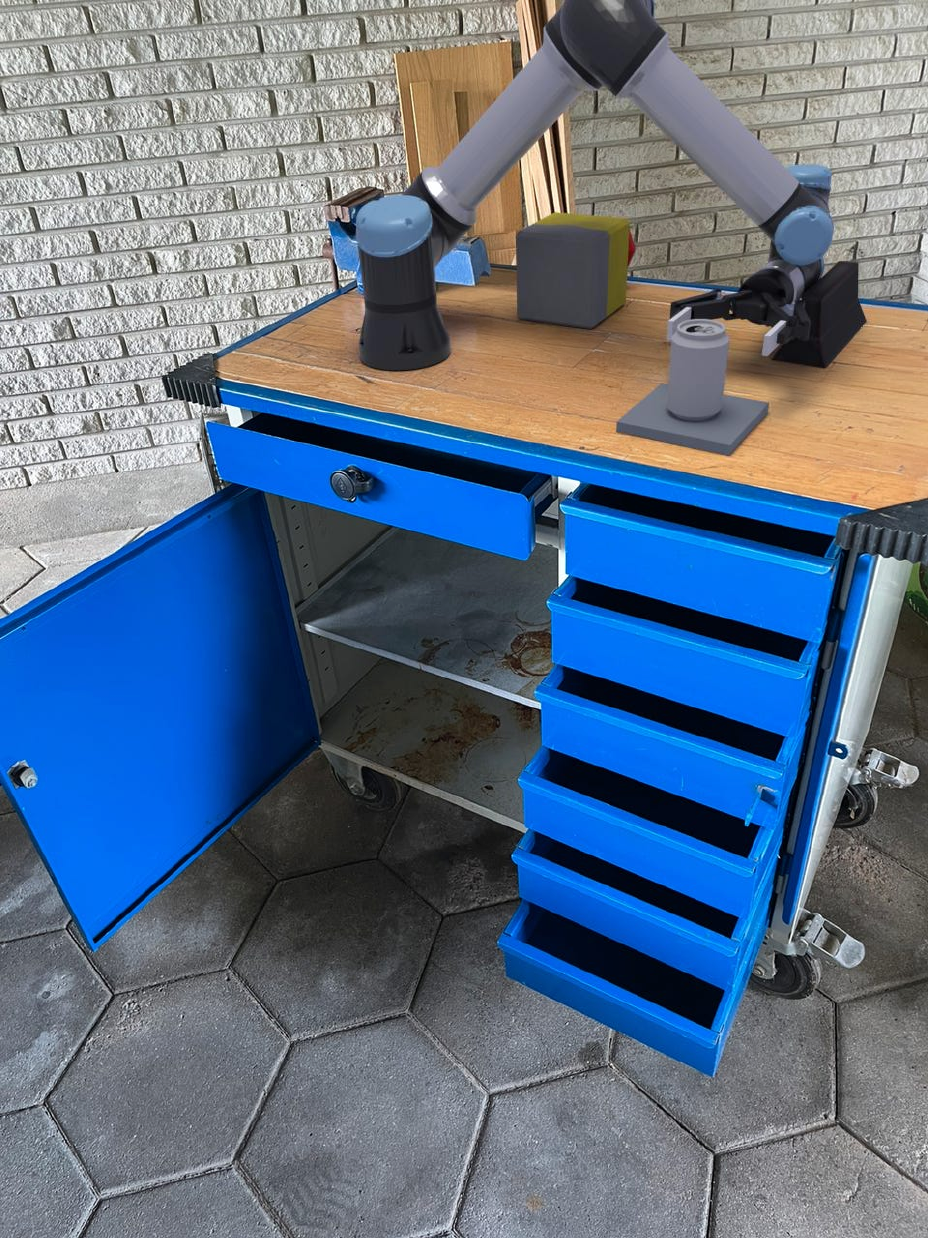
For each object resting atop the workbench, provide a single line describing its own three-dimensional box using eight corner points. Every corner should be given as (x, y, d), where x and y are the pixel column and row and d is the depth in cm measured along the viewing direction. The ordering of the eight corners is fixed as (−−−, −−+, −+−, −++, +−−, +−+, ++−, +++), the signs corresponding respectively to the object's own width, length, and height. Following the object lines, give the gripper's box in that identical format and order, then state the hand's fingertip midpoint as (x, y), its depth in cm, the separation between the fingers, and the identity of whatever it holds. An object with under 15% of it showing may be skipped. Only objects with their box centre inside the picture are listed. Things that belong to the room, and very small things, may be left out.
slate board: (616, 431, 131) (616, 421, 131) (660, 392, 141) (661, 382, 141) (728, 455, 124) (730, 444, 123) (767, 412, 134) (769, 402, 133)
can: (682, 396, 136) (689, 312, 129) (731, 408, 132) (741, 321, 125) (655, 415, 132) (661, 328, 125) (705, 427, 128) (714, 339, 121)
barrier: (826, 370, 146) (838, 304, 140) (769, 361, 150) (778, 296, 144) (867, 322, 161) (880, 261, 156) (815, 315, 165) (825, 255, 160)
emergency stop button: (646, 289, 181) (651, 204, 172) (593, 330, 164) (595, 239, 155) (573, 281, 187) (574, 199, 179) (515, 319, 171) (513, 231, 162)
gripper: (850, 329, 140) (804, 380, 126) (689, 306, 152) (630, 350, 138) (860, 277, 136) (813, 323, 122) (693, 258, 148) (633, 298, 134)
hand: (716, 338), depth 130 cm, fingers open, 13 cm apart
